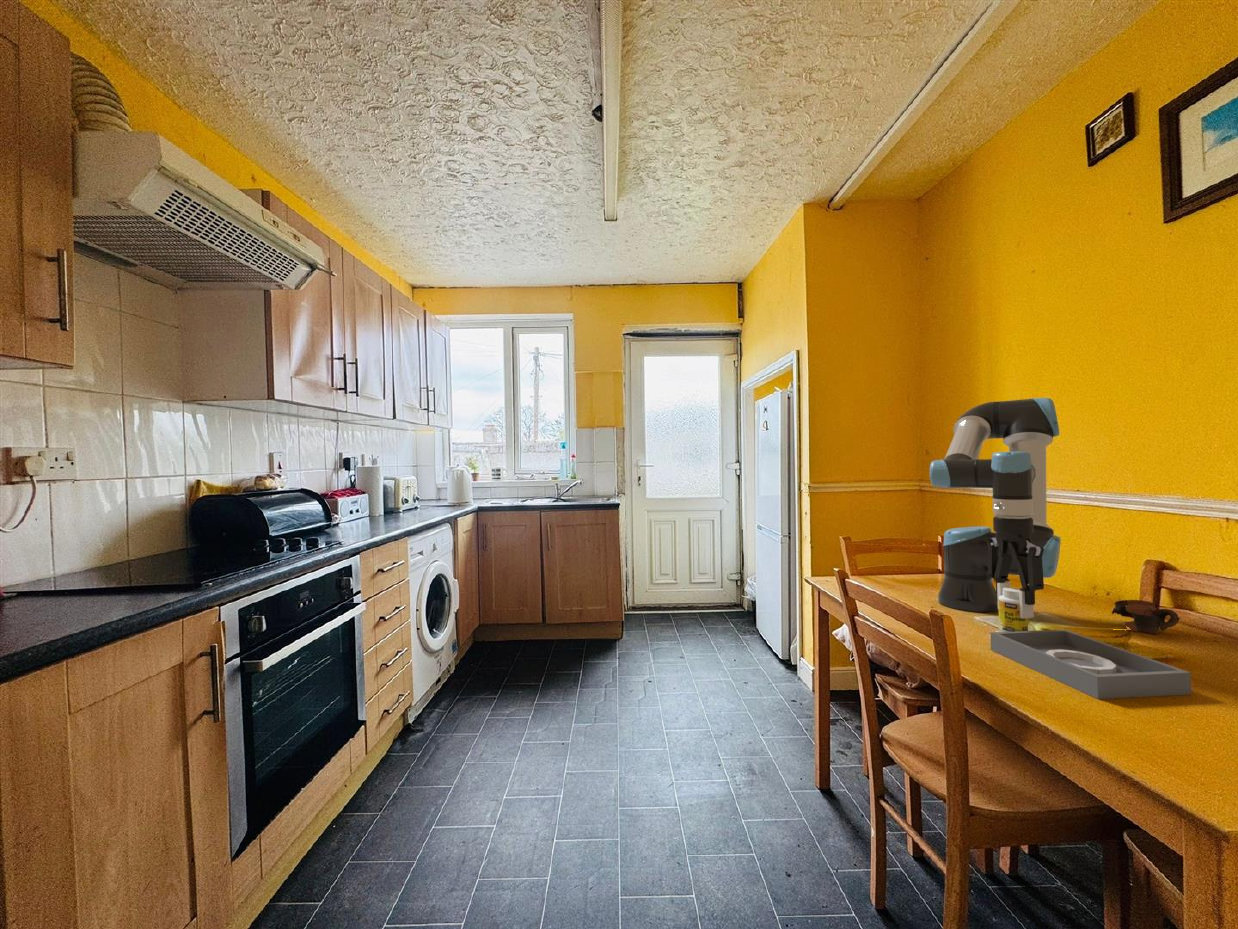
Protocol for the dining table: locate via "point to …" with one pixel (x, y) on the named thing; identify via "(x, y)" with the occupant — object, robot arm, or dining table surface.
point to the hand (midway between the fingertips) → (1015, 613)
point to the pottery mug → (1145, 616)
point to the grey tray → (1091, 664)
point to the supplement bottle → (1011, 612)
